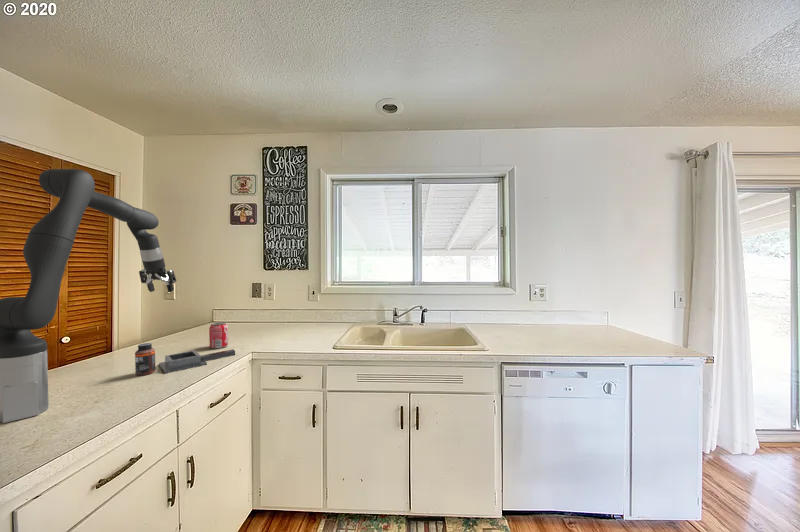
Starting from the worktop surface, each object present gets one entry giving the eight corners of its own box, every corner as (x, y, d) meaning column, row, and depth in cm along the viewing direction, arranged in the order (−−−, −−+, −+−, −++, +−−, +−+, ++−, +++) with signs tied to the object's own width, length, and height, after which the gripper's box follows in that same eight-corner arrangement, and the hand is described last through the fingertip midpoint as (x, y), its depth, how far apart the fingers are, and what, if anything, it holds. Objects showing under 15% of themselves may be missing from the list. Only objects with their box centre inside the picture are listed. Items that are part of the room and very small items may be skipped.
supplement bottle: (154, 369, 120) (154, 341, 120) (156, 373, 116) (156, 344, 115) (134, 373, 116) (134, 344, 116) (135, 377, 112) (135, 347, 111)
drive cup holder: (239, 357, 134) (239, 349, 134) (164, 373, 115) (164, 363, 115) (229, 351, 144) (229, 343, 144) (158, 364, 125) (158, 355, 125)
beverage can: (224, 343, 156) (223, 321, 156) (230, 346, 151) (230, 322, 151) (206, 347, 150) (206, 323, 150) (213, 350, 145) (213, 325, 145)
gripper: (129, 260, 130) (139, 294, 135) (162, 260, 130) (171, 295, 135) (143, 255, 137) (152, 287, 142) (174, 255, 137) (182, 288, 142)
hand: (161, 291), depth 139 cm, fingers open, 8 cm apart
